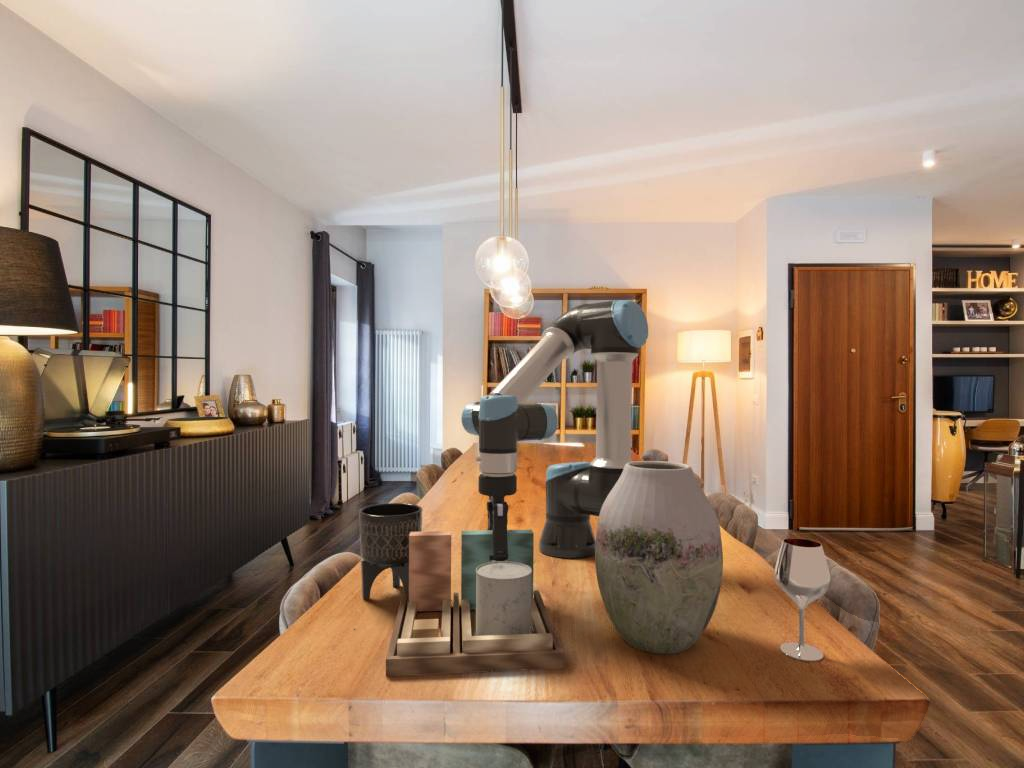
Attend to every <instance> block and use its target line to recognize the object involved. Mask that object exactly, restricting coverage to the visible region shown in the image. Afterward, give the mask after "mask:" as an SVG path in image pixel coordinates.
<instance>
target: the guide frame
mask: <svg viewBox="0 0 1024 768" xmlns="http://www.w3.org/2000/svg"><path fill="white" fill-rule="evenodd" d="M459 598H460V595H459V592H453V601H452V602H453V604H452V605H453V609H452V611H453V615H452V616H453V617H452V618H453V620H452V622H453V623H452V624H453V625H452V632H453V633H452V638H453V639H452V653H450V654H430V655H404V656H397V641H398V639H401V635H402V631H403V626H404V621H405V616H406V612H407V607H408V601H407V594H404V593H402V594H401V597H400V601H399V604H398V605H399V606H398V609H397V614H396V617H395V621H394V626H393V630H392V632H391V638H390V641H389V646H388V649H387V653H386V658H385V677H392V676H394V677H396V676H419V675H422V676H423V675H439V674H440V675H443V674H463V673H465V674H466V673H467V674H468V673H487V672H489V673H490V672H509V671H515V672H516V671H533V670H537V671H538V670H554V669H555V670H557V669H564V668H565V666H564V665H565V653H564V650H563V649H564V648H563V646H562V644H561V642H560V639H559V637H558V634H557V631H556V629H555V626H554V625H553V622H552V620H551V617H550V614H549V611H548V610H547V607H546V605H545V602H544V599H543V597H542V595H541V592H540V590H539V589H536V590H535V589H533V598H534V601H535V604H536V606H537V609H538V612H539V614H540V617H541V620H542V623H543V625H544V628H545V631H546V633H551V634H552V637H553V650H531V651H505V652H480V653H462V652H460V650H461V649H460V605H459V603H460V599H459Z"/></svg>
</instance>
